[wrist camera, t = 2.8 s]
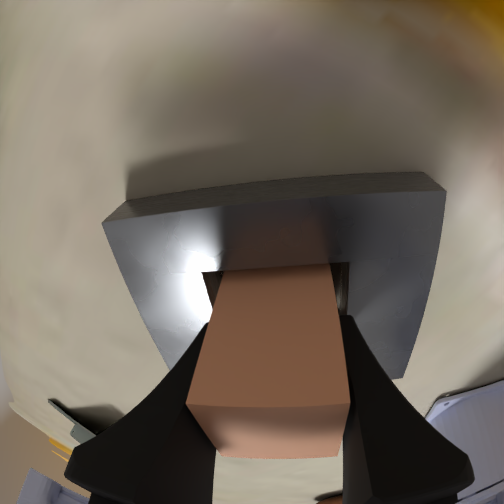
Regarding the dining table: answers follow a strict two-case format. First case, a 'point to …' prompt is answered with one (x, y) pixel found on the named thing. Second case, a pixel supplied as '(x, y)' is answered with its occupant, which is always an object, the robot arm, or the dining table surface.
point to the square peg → (273, 366)
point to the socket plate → (285, 251)
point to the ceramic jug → (332, 500)
